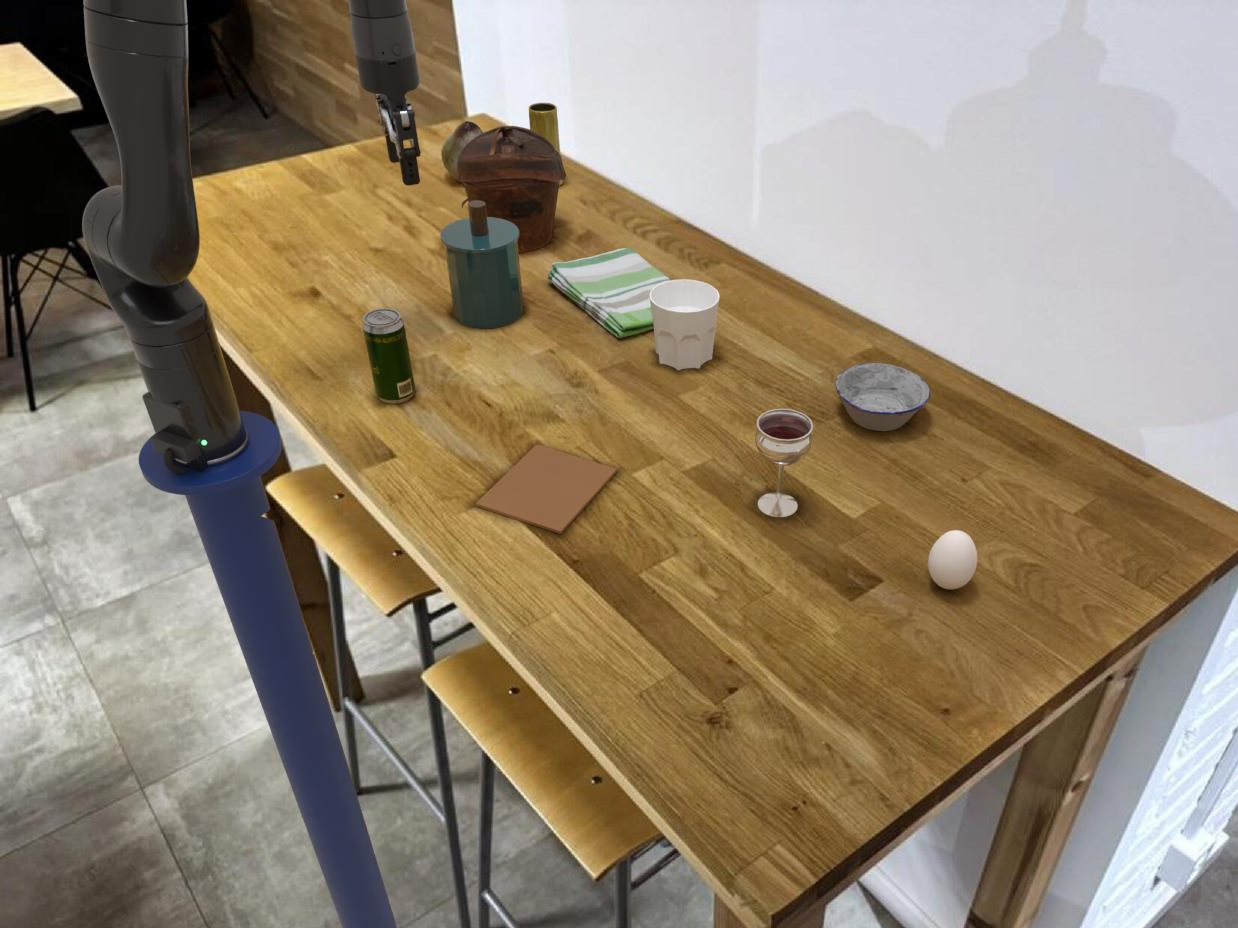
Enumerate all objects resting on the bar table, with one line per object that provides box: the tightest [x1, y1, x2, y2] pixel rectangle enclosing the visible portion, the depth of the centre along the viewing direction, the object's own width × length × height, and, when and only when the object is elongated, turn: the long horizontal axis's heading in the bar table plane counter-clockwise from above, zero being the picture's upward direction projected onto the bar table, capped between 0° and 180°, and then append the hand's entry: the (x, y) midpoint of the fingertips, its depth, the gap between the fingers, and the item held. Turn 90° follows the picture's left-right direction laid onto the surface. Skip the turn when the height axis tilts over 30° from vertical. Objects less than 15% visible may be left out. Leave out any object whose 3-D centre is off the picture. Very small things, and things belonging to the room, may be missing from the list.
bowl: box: [834, 362, 931, 432], centre depth 148 cm, size 13×13×5 cm
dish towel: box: [547, 247, 672, 339], centre depth 172 cm, size 17×23×4 cm
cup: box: [650, 278, 721, 371], centre depth 157 cm, size 10×10×10 cm
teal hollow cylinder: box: [444, 242, 524, 329], centre depth 164 cm, size 11×11×12 cm
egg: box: [927, 529, 978, 590], centre depth 121 cm, size 5×5×8 cm
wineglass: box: [754, 408, 814, 518], centre depth 129 cm, size 7×7×12 cm
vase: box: [528, 102, 565, 187], centre depth 204 cm, size 6×6×14 cm
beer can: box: [361, 308, 416, 405], centre depth 146 cm, size 5×5×12 cm
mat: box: [475, 444, 618, 535], centre depth 134 cm, size 14×12×1 cm
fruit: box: [440, 120, 484, 183], centre depth 205 cm, size 10×9×12 cm
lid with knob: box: [439, 200, 520, 253], centre depth 159 cm, size 12×12×6 cm
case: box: [457, 125, 567, 253], centre depth 183 cm, size 18×20×18 cm
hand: (404, 172), depth 148 cm, fingers open, 8 cm apart
